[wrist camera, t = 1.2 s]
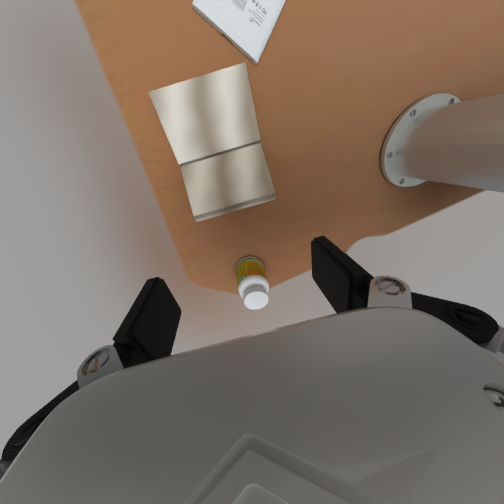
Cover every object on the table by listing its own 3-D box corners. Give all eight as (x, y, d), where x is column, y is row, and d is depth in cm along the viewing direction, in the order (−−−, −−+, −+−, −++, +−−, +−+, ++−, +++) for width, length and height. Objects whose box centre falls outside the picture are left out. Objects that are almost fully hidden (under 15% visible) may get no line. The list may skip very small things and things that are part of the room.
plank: (260, 147, 27) (261, 142, 25) (275, 199, 26) (276, 196, 25) (183, 170, 27) (179, 166, 26) (197, 221, 27) (194, 220, 25)
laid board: (244, 66, 22) (245, 62, 21) (260, 144, 27) (261, 144, 26) (151, 94, 22) (148, 92, 21) (182, 168, 27) (180, 168, 26)
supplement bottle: (239, 253, 35) (243, 285, 27) (265, 257, 36) (277, 290, 28) (233, 275, 38) (236, 311, 29) (258, 278, 39) (267, 314, 30)
